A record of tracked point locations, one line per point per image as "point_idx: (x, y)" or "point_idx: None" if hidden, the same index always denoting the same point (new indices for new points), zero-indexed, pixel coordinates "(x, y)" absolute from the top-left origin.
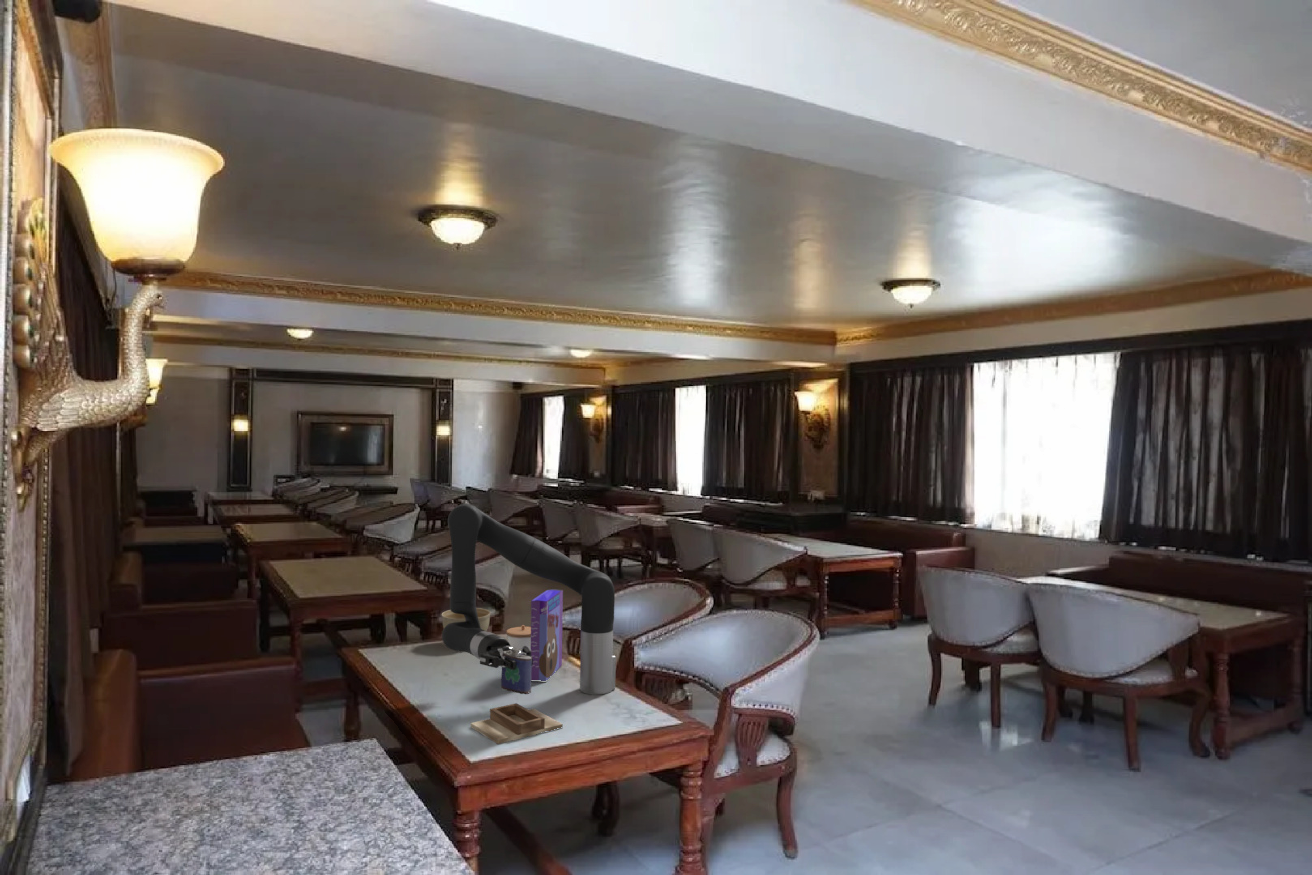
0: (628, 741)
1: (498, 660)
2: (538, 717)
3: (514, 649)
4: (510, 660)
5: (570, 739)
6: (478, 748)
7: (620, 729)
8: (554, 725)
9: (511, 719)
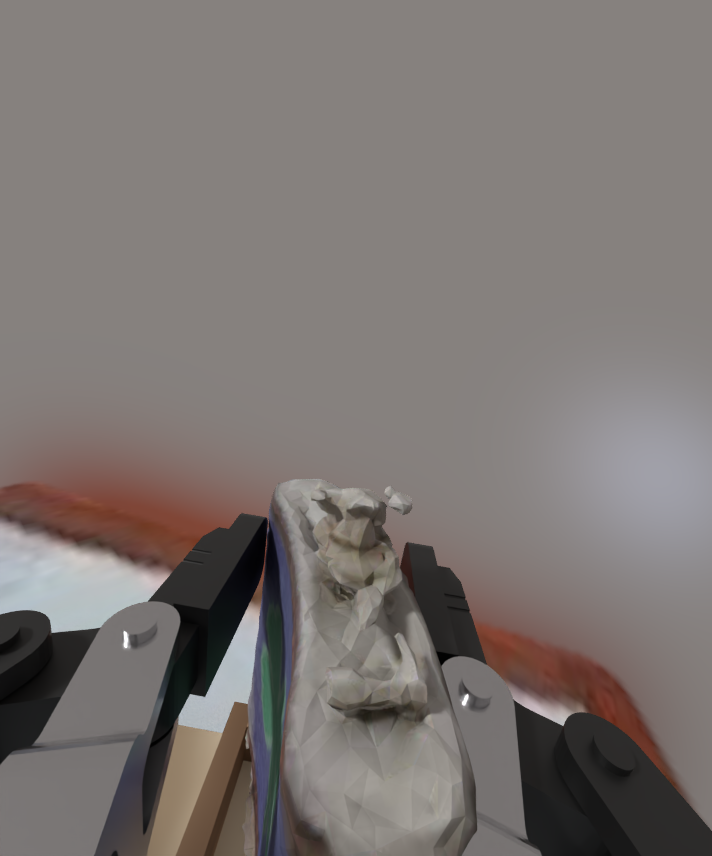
0: (170, 532)
1: (558, 729)
2: (241, 736)
3: (397, 493)
4: (438, 572)
5: None
6: None
7: (78, 578)
8: None
9: None
